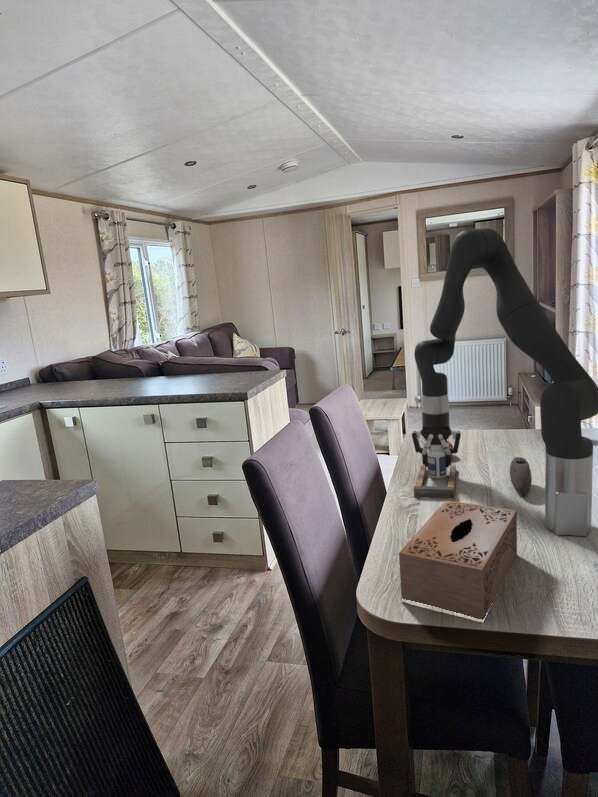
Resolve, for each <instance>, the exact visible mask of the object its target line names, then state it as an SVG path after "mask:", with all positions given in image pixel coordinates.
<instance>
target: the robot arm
mask: <svg viewBox="0 0 598 797" xmlns="http://www.w3.org/2000/svg"><path fill="white" fill-rule="evenodd" d="M474 269H483V270H484V271H485V272H486V273H487V274H488V276H489V277H490V279H491V281H492V283H493V284H494V287H495V291H496V300H495V302H496V303H495V304H496V306H495V307H496V316H497V319H498V321H499V324H500V325H501V327H502V328H503V331H504V332H505V334H506V335H507V337H508V338H509V340H510V341H511V343H513V345H514V346H515V347H516V348H518V350H520V351H521V352H523V353H524V354H525V355H527V356H528V357H530V358H531V359H532V360H533V361H534V362H536V363H537V364H538V365H539V366H540V367H542V368H543V369H544V371H545V372H546V373H547V375H548V376H549V378H550V379H551V383H549V384H548V385H547V386H545V388H544V389H543V391H542V393H541V396H540V405H539V406H540V407H539V410H540V411H539V412H540V413H539V414H540V428H541V429H540V431H541V433H540V434H541V438H542V440H543V441H542V442H543V444H544V447H545V468H544V470H545V475H544V476H545V477H544V478H545V479H544V480H545V481H544V483H545V484H544V486H545V487H544V488H545V495H544V496H545V497H544V498H545V499H544V502H545V503H544V510H545V511H544V523H545V527H546V529H548V530H549V531H552V532H553V533H554V534H555V535H557V536H558V535H559V536H561V535H562V536H577V537H578V536H579V537H581V536H582V537H587V536H588V533H590V532H591V531H592V516H593V512H592V510H593V509H592V508H593V507H592V504H593V502H592V501H593V466H594V443H593V441H592V439H590V438H588V437H586V436H584V435H583V436H582V421H586V420H587V419H591V418H594V417H595V416H597V415H598V385H597V383H596V381H595V380H594V379H593V378H592V376H590V374H589V373H588V372H587V370H586V369H585V368H584V367H583V366H582V364H581V363H580V362H579V361H578V359H577V358H576V356H574V354H573V353H572V352H571V350H570V349H569V347H568V346H567V344H566V343H565V341H564V340H563V338H562V337H561V335H560V334H559V332H558V331H557V329H556V328H555V326H554V325H553V323H552V321H551V319H550V317H549V316H548V314H547V313H546V312H545V310H544V308H543V307H542V305H541V303H540V302H539V300H538V299H537V297H536V296H535V294H534V293H533V291H532V290H531V288H530V287H529V284H527V282H526V280H525V278H524V277H523V274H521V272H520V270H519V268H518V267H517V264H516V263H515V260H514V258H513V257H512V255H511V252H510V250H509V248H508V246H507V243H506V242H505V240H504V238H503V237H502V234H500V233H499V232H498V231H497V230H495V229H493V228H490V227H484V228H472V229H464V230H463V231H460V232H459V233H457V234H456V236H455V237H454V239H453V242H452V245H451V247H450V250H449V254H448V259H447V265H446V271H445V275H444V278H443V279H444V280H443V285H442V291H441V294H440V299H439V302H438V305H437V306H436V309H435V313H434V315H433V317H432V320H431V322H430V324H429V325H430V326H429V332H430V334H431V335H432V336H433V337H434V339H427V340H422V341H419V342H418V343H417V344H416V346H415V348H414V360H415V364H416V367H417V370H418V374H419V377H420V379H421V395H422V396H421V424H422V427H421V430H418V431H416V430H413V431H412V433H411V437H412V441H413V442H412V443H413V447H414V449H415V453H417V454H418V453H419V454H421V457H422V458H421V459H422V461H421V462H422V465H425V467H426V468H428V464H427V452H428V451H429V449H428V448H429V446H430V444H431V445H434V444H438V445H443V447H444V449H445V451H446V467H447V468H450V465H452V455H453V454H457V453H458V452H459V451H458V450H459V446H460V442H461V441H460V440H461V436H462V435H461V434H462V432H461V431H460V430H457V431H456V430H455V431H454V430H452V429H451V428H450V400H449V393H448V392H449V390H448V377H447V375H446V374H445V373H444V372H436V370H435V366H436V365H442V364H446V363H448V362H449V361H450V360H451V359H452V358H453V355H454V352H455V344H456V334H457V331H458V330H459V327H460V325H461V322H462V320H463V317H464V314H465V308H466V306H465V305H466V304H465V298H464V285H465V281H466V279H467V278H468V276H469V275H470V272H471V271H472V270H474ZM552 381H553V382H554V383H552ZM421 436H422V438H423V439H424V440H425V443H424V446H423V447H421V445H420V440H419V439H420V438H421ZM451 436H452V439H453V440H454V443H453V448H450V446H449V443H448V441H449V440H448V439H449V438H450V437H451Z"/></svg>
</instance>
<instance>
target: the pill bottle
mask: <svg viewBox="0 0 598 797" xmlns="http://www.w3.org/2000/svg"><path fill="white" fill-rule="evenodd" d="M443 448H444V447H443V445H438V444H434V445H431V444H430V446H429V449H430V450H429V449H428V450H427V464H428V467H427V476H428V477H429V478H431V479H444V478H446V477H447V474H448V469H447V468H448V467H446V452H445V450H443Z"/></svg>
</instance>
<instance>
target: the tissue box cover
mask: <svg viewBox="0 0 598 797" xmlns="http://www.w3.org/2000/svg"><path fill="white" fill-rule="evenodd" d="M517 512H518V510H517V509H509V508H505V507H504V508H503V507H496V506H488V505H481V504H474V503H467V502H460V501H454V500H453V501H452V500H448V499H447V500H446V499H445V501H444V502H443V503H442V504H441V506H440V507H439V508H438V509H437V510H436V511H435V512H434V513H433V515H431V517H430V518H429V519H428V520H427V521H426V522H425V524H424V525H423V526H421V528H419V530H418V531H417V532H416V534H414V536H413V537H412V538H411V539H409V541H408V543H406V545H405V546H403V548H402V549H401V550H400V552H399V553H398V555H399V571H400V572H399V574H400V576H399V578H400V594H401V595H400V596H401V597H400V598H401V599H402V598H403V599H406V600H411V601H415V602H419V603H423V604H427V605H431V606H435V607H439V608H442V609H445V610H449V611H453V612H456V613H461V614H464V615H467V616H471V617H474V618H477V619H482V620H483V619H484V618H485V616H486V613H487V612H488V610H489V608H490V606H491V604H492V603H493V601H494V599H495V597H496V595H497V593H498V591H499V589H500V587H501V585H502V583H503V581H504V579H505V577H506V578H507V576H508V574H509V572H510V570H511V568H512V566H513V564H514V563H515V560H516V558H517V556H518V525H517V522H518V521H517V520H518V518H517V517H518V516H517V514H518V513H517ZM452 542H453V543H452ZM509 569H510V570H509ZM506 575H507V576H506ZM505 580H506V579H505ZM504 582H505V581H504ZM503 584H504V583H503ZM502 586H503V585H502ZM501 588H502V587H501ZM500 590H501V589H500ZM499 592H500V591H499ZM498 594H499V593H498ZM497 596H498V595H497ZM496 598H497V597H496ZM495 600H496V599H495ZM494 602H495V601H494ZM493 604H494V603H493Z"/></svg>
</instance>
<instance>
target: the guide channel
mask: <svg viewBox="0 0 598 797" xmlns="http://www.w3.org/2000/svg"><path fill="white" fill-rule="evenodd" d="M456 466H457V465H454V464H453V465H452V464H451V465H449V472H448V473H449V474H448V481H447V486H444V485H443V486H437V485H436V486H435V485H424V482H425V478H426V473H427V467H425V465H423V464H420V468H419V471H418V475H417V476H418V477H417V480H416V481H415V485H414V486H413V497H414V498H420V497H430V498H429V499H448V498H453V499H454V493H455V482H456V481H455V480H456V472H457V470H456Z"/></svg>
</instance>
